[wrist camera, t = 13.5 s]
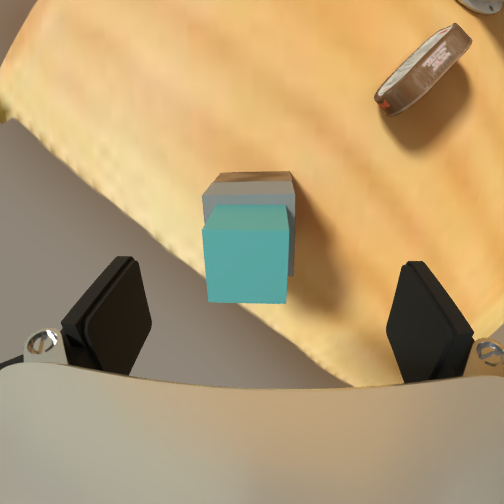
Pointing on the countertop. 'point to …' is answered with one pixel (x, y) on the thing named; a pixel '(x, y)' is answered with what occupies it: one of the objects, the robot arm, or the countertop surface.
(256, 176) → the tower base
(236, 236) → the teal cube
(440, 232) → the countertop surface
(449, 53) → the tin
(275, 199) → the block
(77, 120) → the countertop surface
